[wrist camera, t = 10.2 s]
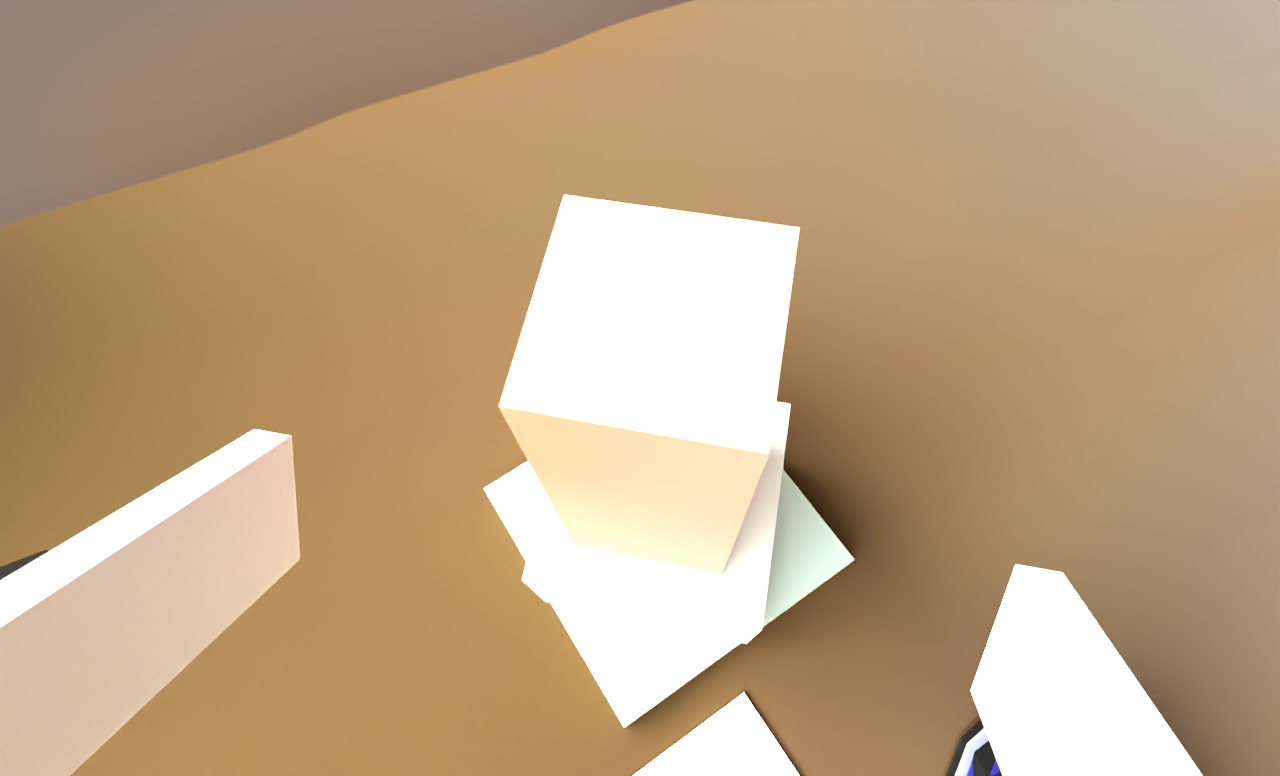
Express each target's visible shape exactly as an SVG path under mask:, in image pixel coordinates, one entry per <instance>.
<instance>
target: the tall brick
mask: <svg viewBox="0 0 1280 776" xmlns="http://www.w3.org/2000/svg"><path fill="white" fill-rule="evenodd" d="M799 230H800V227H794V226H787V225H780V224H773V223H766V222H758V221H751V220H744V219H737V218H730V217H723V216H716V215H708V214H701V213H694V212H687V211H680V210H673V209H666V208H658V207H651V206H644V205H637V204H630V203H623V202H616V201H608V200H601V199H594V198H587V197H580V196H573V195H566V194H564V196H563V199H562V202H561V205H560V208H559V212H558V215H557V218H556V221H555V225H554V228H553V231H552V234H551V238H550V241H549V244H548V247H547V251H546V254H545V257H544V260H543V264H542V267H541V270H540V273H539V276H538V280H537V283H536V286H535V289H534V293H533V296H532V299H531V302H530V306H529V309H528V312H527V315H526V319H525V322H524V325H523V328H522V332H521V335H520V338H519V341H518V344H517V348H516V351H515V354H514V357H513V361H512V364H511V367H510V370H509V374H508V377H507V380H506V383H505V387H504V390H503V393H502V396H501V400H500V403H499V406H498V407H499V409H500V410H501V412H502V414H503V416H504V418H505V420H506V421H507V423H508V425H509V427H510V429H511V430H512V432H513V434H514V436H515V438H516V440H517V441H518V443H519V445H520V447H521V449H522V450H523V452H524V454H525V456H526V458H527V460H528V461H529V463H530V465H531V467H532V469H533V470H534V472H535V474H536V476H537V478H538V480H539V481H540V483H541V485H542V487H543V489H544V490H545V492H546V494H547V496H548V498H549V499H550V501H551V503H552V505H553V507H554V509H555V510H556V512H557V514H558V516H559V518H560V519H561V521H562V523H563V525H564V527H565V529H566V530H567V532H568V534H569V536H570V538H571V539H572V541H573V543H574V545H575V546H577V547H582V548H587V549H592V550H597V551H602V552H607V553H612V554H617V555H622V556H628V557H633V558H638V559H643V560H648V561H653V562H658V563H663V564H668V565H673V566H678V567H683V568H688V569H693V570H698V571H703V572H708V573H713V574H718V575H722V574H723V571H724V569H725V566H726V564H727V561H728V559H729V556H730V553H731V551H732V548H733V546H734V543H735V541H736V538H737V536H738V533H739V530H740V528H741V525H742V523H743V520H744V518H745V515H746V512H747V510H748V507H749V505H750V502H751V500H752V497H753V494H754V492H755V489H756V487H757V484H758V482H759V479H760V476H761V474H762V471H763V469H764V466H765V464H766V461H767V458H768V456H769V451H770V444H771V436H772V429H773V422H774V414H775V407H776V399H777V392H778V385H779V377H780V370H781V363H782V355H783V348H784V340H785V333H786V326H787V318H788V311H789V304H790V296H791V289H792V281H793V274H794V267H795V259H796V252H797V245H798V237H799Z"/></svg>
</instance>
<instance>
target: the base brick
mask: <svg viewBox="0 0 1280 776" xmlns="http://www.w3.org/2000/svg"><path fill="white" fill-rule="evenodd" d="M790 407H791V404H790V403H784V402H778V401H776V407H775V414H774V422H773V429H772V436H771V444H770V451H769V456H768V458H767V461H766V464H765V466H764V469H763V471H762V474H761V476H760V479H759V482H758V484H757V487H756V489H755V492H754V494H753V497H752V500H751V502H750V505H749V507H748V510H747V512H746V515H745V518H744V520H743V523H742V525H741V528H740V530H739V533H738V536H737V538H736V541H735V543H734V546H733V548H732V551H731V553H730V556H729V559H728V561H727V564H726V566H725V569H724V571H723V574H722V575H718V574H713V573H708V572H703V571H698V570H693V569H688V568H683V567H678V566H673V565H668V564H663V563H658V562H653V561H648V560H643V559H638V558H633V557H628V556H622V555H617V554H612V553H607V552H602V551H597V550H592V549H587V548H582V547H577V546H575V545H574V543H573V541H572V539H571V538H570V536H569V534H568V532H567V530H566V529H565V527H564V525H563V523H562V521H561V519H560V518H559V516H558V514H557V512H556V510H555V509H554V507H553V505H552V503H551V501H550V499H549V498H548V496H547V494H546V492H545V494H544V498H543V502H542V505H541V509H540V513H539V517H538V520H537V524H536V528H535V532H534V536H533V539H532V543H531V547H530V551H529V554H528V558H527V562H526V566H525V569H524V573H523V577H522V581H523V582H524V583H525V584H526V585H527V586H528V587H530V588H531V589H532V590H533V591H534V592H535V593H536V594H537V595H538V596H539V597H540V598H542V599H543V600H544V601H545V602H548V603H553V604H558V605H563V606H567V607H572V608H577V609H582V610H587V611H591V612H596V613H601V614H606V615H610V616H615V617H620V618H625V619H630V620H634V621H639V622H644V623H649V624H654V625H658V626H663V627H668V628H673V629H677V630H682V631H687V632H692V633H697V634H701V635H706V636H711V637H716V638H721V639H725V640H730V641H735V642H740V643H744V644H747V643H748V642H749V641H750V640H751V639H753V638H754V637H755V636H756V635H757V634H758V633H759V632H760V631H762V628H763V620H764V612H765V604H766V596H767V589H768V581H769V573H770V565H771V557H772V549H773V541H774V533H775V525H776V517H777V510H778V502H779V494H780V486H781V478H782V470H783V462H784V454H785V446H786V438H787V431H788V423H789V415H790Z"/></svg>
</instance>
